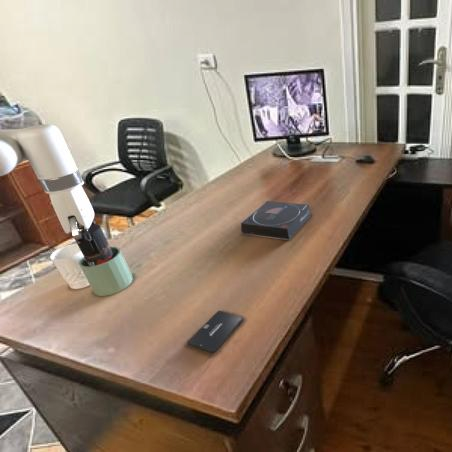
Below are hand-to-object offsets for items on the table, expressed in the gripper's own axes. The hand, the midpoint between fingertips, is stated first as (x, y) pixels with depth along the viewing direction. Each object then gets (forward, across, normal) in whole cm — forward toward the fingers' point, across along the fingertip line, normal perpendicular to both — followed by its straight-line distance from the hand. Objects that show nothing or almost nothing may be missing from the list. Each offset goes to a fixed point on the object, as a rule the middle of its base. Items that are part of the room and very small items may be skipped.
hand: (94, 247), depth 88 cm
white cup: (+12, -6, -8) cm, 15 cm away
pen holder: (+12, 0, 0) cm, 12 cm away
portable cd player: (+12, -8, +48) cm, 50 cm away
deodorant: (+10, 0, 0) cm, 10 cm away
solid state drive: (+12, +32, +23) cm, 41 cm away
